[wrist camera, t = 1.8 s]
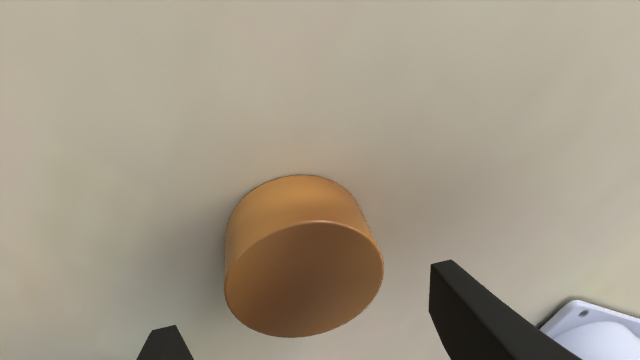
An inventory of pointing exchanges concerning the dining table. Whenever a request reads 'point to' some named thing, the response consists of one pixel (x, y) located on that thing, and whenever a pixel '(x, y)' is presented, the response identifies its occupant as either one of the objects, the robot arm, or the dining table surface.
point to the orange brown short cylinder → (299, 258)
